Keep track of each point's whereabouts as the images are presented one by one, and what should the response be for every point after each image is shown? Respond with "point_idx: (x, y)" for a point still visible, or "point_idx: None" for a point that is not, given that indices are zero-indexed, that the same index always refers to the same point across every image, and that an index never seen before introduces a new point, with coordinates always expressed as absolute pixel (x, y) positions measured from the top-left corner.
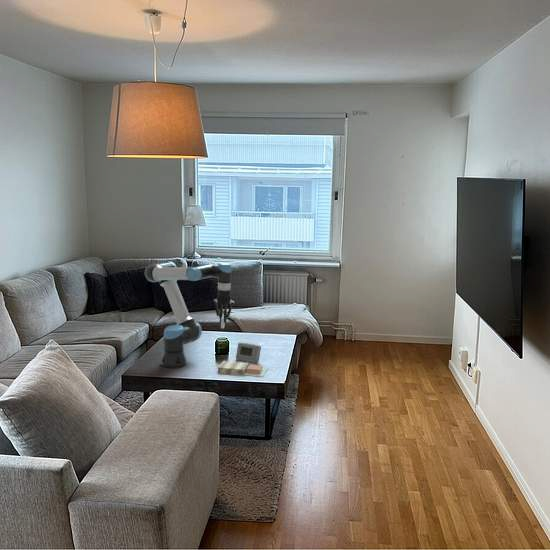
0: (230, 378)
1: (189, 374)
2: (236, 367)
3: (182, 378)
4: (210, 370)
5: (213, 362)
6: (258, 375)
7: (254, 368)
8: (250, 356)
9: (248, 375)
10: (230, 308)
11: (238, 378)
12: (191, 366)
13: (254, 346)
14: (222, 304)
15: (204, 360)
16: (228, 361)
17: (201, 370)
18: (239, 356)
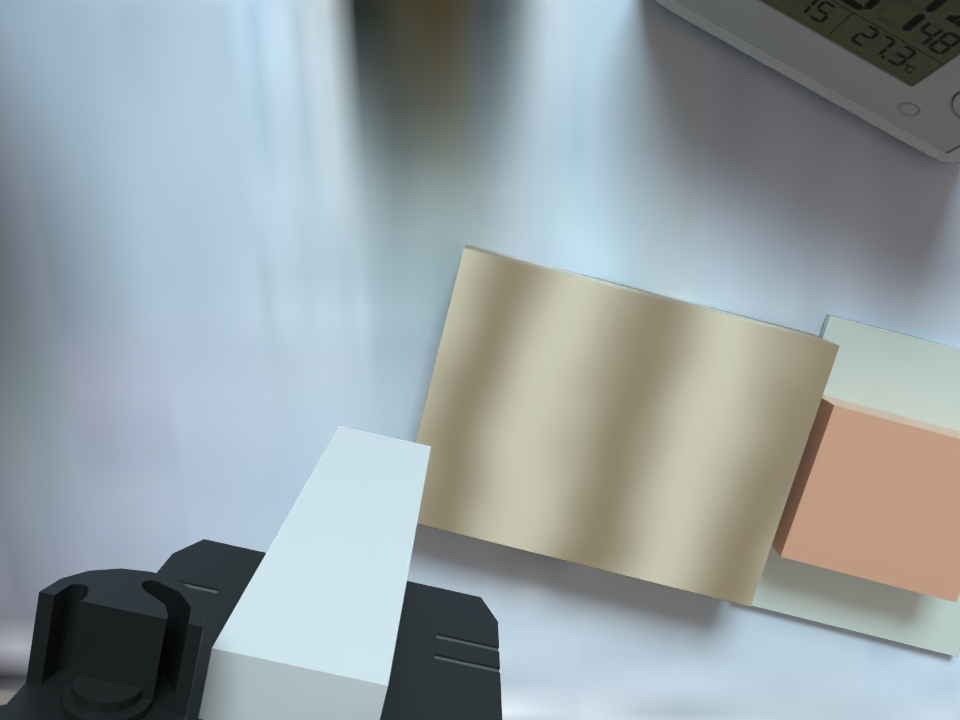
0: (561, 688)
1: (68, 562)
2: (647, 523)
3: (13, 682)
4: (305, 430)
5: (318, 114)
6: (906, 629)
7: (891, 554)
8: (894, 83)
9: (781, 610)
10: None
11: (655, 690)
12: (40, 282)
13: None
14: None
15: (180, 25)
16: (536, 277)
17: (192, 430)
18: (710, 4)
